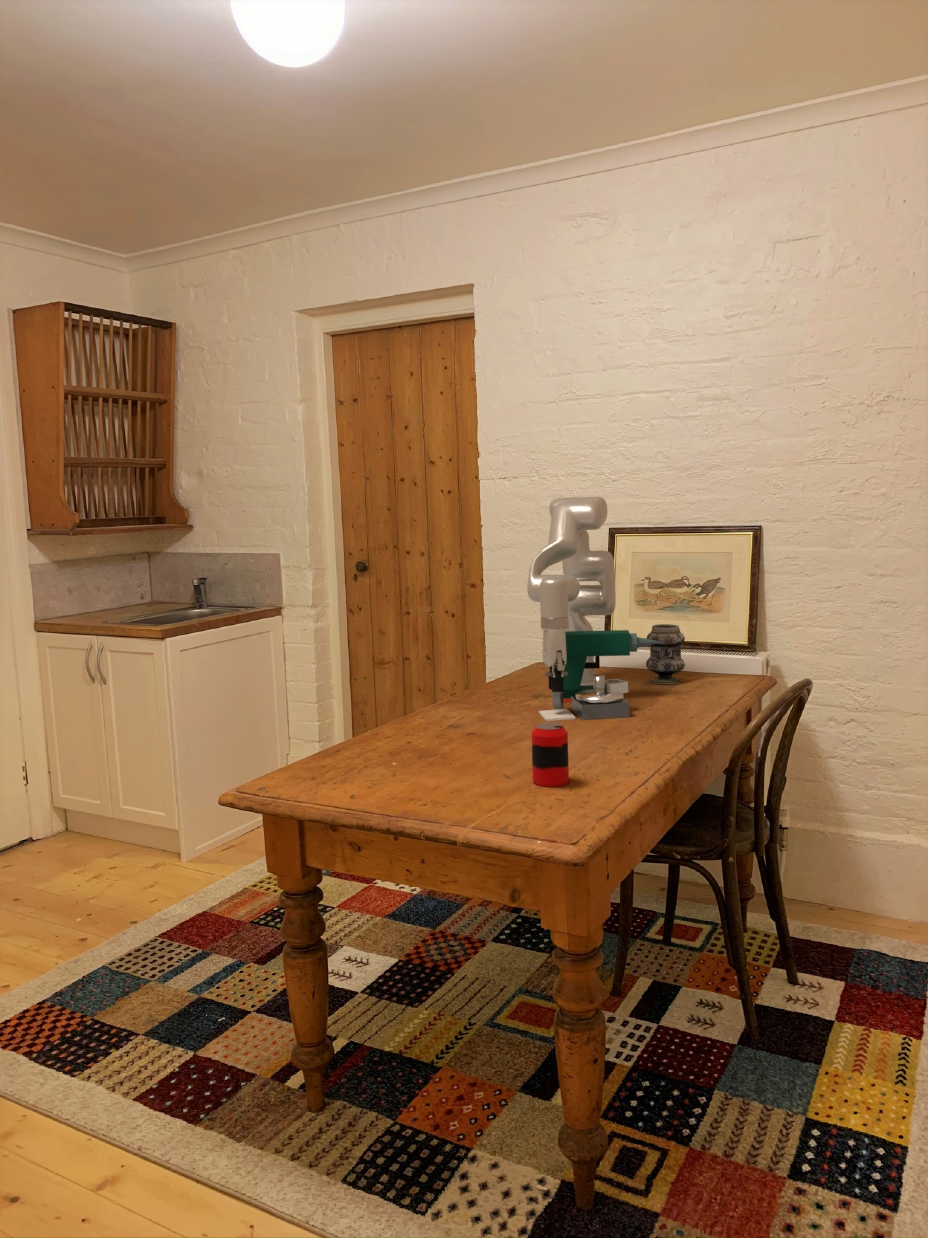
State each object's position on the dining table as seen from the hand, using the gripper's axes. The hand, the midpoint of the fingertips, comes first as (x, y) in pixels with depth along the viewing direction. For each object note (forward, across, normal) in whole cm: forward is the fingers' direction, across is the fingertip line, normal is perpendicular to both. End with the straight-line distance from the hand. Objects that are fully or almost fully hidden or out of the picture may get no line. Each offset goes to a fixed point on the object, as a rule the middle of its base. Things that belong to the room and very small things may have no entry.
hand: (556, 689), depth 260 cm
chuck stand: (+7, 0, +12) cm, 14 cm away
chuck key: (+5, 0, 0) cm, 5 cm away
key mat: (+7, 0, 0) cm, 7 cm away
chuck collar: (+3, 0, +13) cm, 13 cm away
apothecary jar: (+7, -37, +43) cm, 57 cm away
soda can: (+8, +59, -14) cm, 61 cm away
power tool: (+7, -17, +19) cm, 27 cm away
